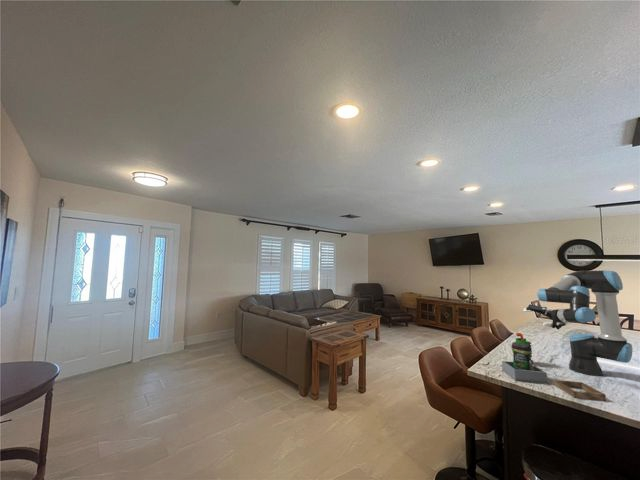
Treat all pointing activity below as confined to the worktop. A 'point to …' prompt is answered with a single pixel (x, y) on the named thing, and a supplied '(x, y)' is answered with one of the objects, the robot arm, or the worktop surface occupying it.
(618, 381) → the worktop surface
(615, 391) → the worktop surface
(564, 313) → the robot arm
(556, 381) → the walnut collar
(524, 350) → the coffee jar
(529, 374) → the charcoal bin
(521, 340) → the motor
